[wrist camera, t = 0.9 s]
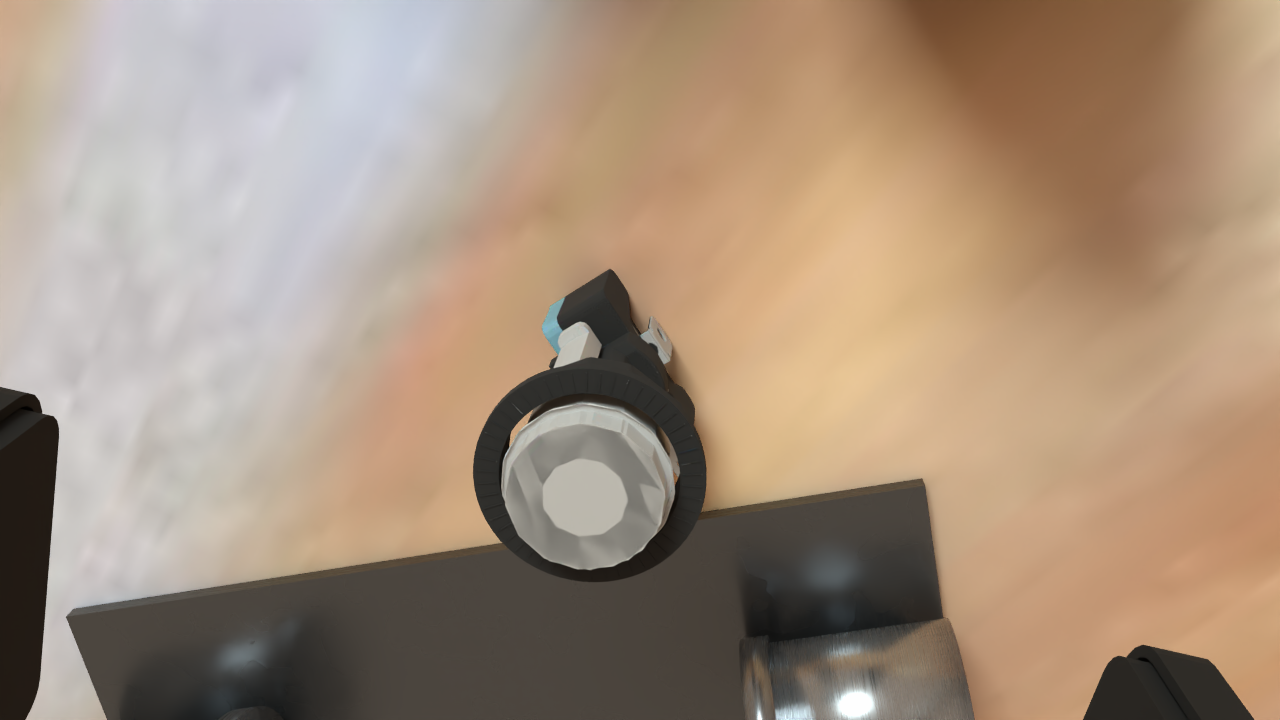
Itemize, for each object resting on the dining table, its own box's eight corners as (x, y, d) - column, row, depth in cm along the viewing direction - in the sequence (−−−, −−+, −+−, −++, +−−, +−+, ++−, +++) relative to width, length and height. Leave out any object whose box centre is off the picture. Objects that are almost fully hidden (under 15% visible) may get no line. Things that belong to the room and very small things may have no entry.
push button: (766, 414, 36) (782, 581, 27) (619, 497, 38) (585, 684, 28) (646, 230, 35) (618, 339, 25) (496, 324, 36) (416, 461, 27)
